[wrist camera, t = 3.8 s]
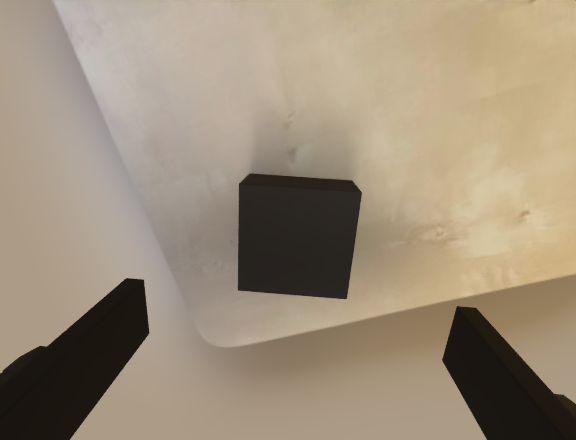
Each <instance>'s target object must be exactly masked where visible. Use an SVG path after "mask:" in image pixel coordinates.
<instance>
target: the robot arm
mask: <svg viewBox="0 0 576 440" xmlns="http://www.w3.org/2000/svg"><path fill="white" fill-rule="evenodd" d="M148 334H149V325H148V316H147V306H146V296H145V287H144V280H141V279H129V278H127V279H125V280H124V281H123V282H121V283H120V284H119V285H118V286H117V287H116V288H114V289H113V290H112V291H111V292H110V293H109V294H107V295H106V296H105V297H104V298H103V299H102V300H101V301H99V302H98V303H97V304H96V305H95V306H94V307H93V308H91V309H90V310H89V311H88V312H87V313H85V314H84V315H83V316H82V317H81V318H80V319H79V320H77V321H76V322H75V323H74V324H73V325H72V326H70V327H69V328H68V329H67V330H66V331H65V332H63V333H62V334H61V335H60V336H59V337H58V338H56V339H55V340H54V341H53V342H52V343H51V344H50V345H49V346H47V347H44V346H39V347H37V348H35V349H33V350H31V351H30V352H28V353H26V354H24V355H22V356H20V357H19V358H18V359H16V360H15V361H14V362H13V363H12V364H10V365H9V366H8V367H7V368H5V369H4V370H3V372H2V373H1V374H0V440H70V439H71V437H72V436H73V435H74V433H75V432H76V431H77V429H78V428H79V427H80V425H81V424H82V423H83V421H84V420H85V418H86V417H87V416H88V414H89V413H90V412H91V411H92V409H93V408H94V407H95V405H96V404H97V403H98V401H99V400H100V399H101V397H102V396H103V394H104V393H105V392H106V390H107V389H108V388H109V387H110V385H111V384H112V382H113V381H114V380H115V379H116V377H117V376H118V374H119V373H120V372H121V370H122V369H123V368H124V366H125V365H126V363H127V362H128V361H129V360H130V358H131V357H132V356H133V354H134V353H135V352H136V350H137V349H138V348H139V346H140V345H141V344H142V342H143V341H144V340H145V338H146V337H147V336H148ZM442 360H443V363H444V364H445V366H446V368H447V370H448V371H449V373H450V375H451V377H452V379H453V380H454V382H455V384H456V385H457V387H458V389H459V391H460V392H461V394H462V396H463V398H464V400H465V401H466V403H467V405H468V407H469V409H470V410H471V412H472V414H473V416H474V417H475V419H476V421H477V423H478V425H479V426H480V428H481V430H482V431H483V433H484V435H485V437H486V439H487V440H576V404H575V403H574V402H572V401H571V400H570V399H568V398H567V397H565V396H564V395H559V394H554V393H553V392H552V391H551V390H550V389H549V388H548V387H547V386H546V385H545V384H544V383H543V381H542V380H541V379H540V378H539V377H538V376H537V375H536V374H535V372H533V370H532V369H531V368H530V367H529V366H528V365H527V364H526V363H525V361H523V359H522V358H521V357H520V356H519V355H518V354H517V353H516V352H515V350H514V349H513V348H512V347H511V346H510V345H509V344H508V343H507V342H506V340H505V339H504V338H503V337H502V336H501V335H500V334H499V333H498V332H497V331H496V329H495V328H494V327H493V326H492V325H491V324H490V323H489V322H488V321H487V320H486V319H485V317H484V316H483V315H482V314H481V313H480V312H479V311H478V310H477V308H471V307H459V306H457V308H456V312H455V315H454V319H453V323H452V327H451V330H450V334H449V337H448V341H447V345H446V348H445V352H444V356H443V359H442Z"/></svg>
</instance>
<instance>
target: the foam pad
mask: <svg viewBox="0 0 576 440" xmlns="http://www.w3.org/2000/svg"><path fill="white" fill-rule="evenodd" d="M361 195H362V192H361V191H360V190H359V189H358V187H357V186H356V185H355V184H354V182H353V181H348V180H334V179H320V178H305V177H291V176H277V175H262V174H249V175H248V176H247V177H246V178H245V179H244V180H243V181H242V182H241V183H240V184H239V244H238V290H240V291H252V292H264V293H276V294H289V295H301V296H313V297H325V298H338V299H347V294H348V287H349V280H350V272H351V265H352V258H353V251H354V244H355V237H356V230H357V223H358V216H359V209H360V202H361Z"/></svg>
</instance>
